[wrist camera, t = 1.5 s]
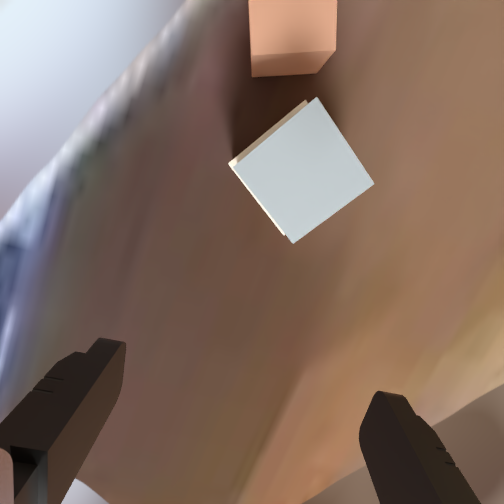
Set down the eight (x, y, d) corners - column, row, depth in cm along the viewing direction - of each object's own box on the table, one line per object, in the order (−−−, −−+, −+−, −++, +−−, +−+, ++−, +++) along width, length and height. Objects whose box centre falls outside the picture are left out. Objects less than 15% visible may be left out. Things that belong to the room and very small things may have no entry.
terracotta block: (317, -5, 24) (338, -57, 18) (316, 73, 26) (335, 50, 20) (248, -1, 25) (246, -51, 18) (251, 77, 26) (251, 55, 20)
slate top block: (302, 108, 22) (316, 96, 17) (349, 176, 23) (374, 183, 18) (237, 163, 23) (232, 167, 18) (285, 225, 24) (293, 243, 20)
